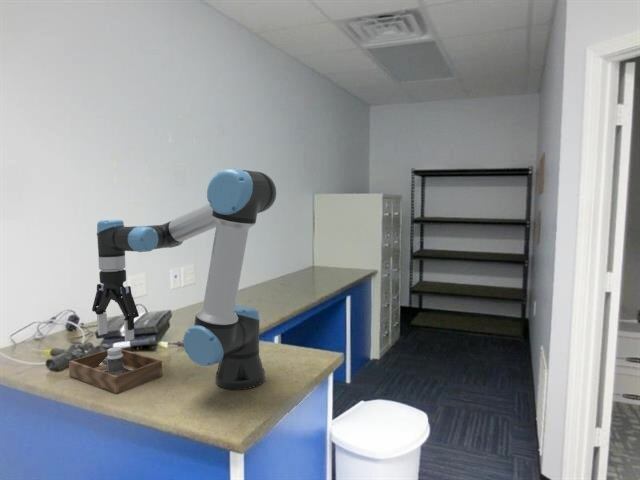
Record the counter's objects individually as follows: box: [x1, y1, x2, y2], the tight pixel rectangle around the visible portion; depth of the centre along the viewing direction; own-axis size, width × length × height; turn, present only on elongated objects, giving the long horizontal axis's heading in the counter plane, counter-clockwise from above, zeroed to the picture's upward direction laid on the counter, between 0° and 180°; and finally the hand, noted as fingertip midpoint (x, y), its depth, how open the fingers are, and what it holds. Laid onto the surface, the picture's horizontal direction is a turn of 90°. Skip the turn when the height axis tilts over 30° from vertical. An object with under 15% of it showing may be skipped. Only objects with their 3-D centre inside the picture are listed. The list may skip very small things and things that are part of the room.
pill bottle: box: [107, 346, 124, 376], centre depth 140 cm, size 5×5×8 cm
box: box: [68, 348, 163, 395], centre depth 141 cm, size 24×16×5 cm, turn 58°
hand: (116, 337), depth 140 cm, fingers open, 13 cm apart
